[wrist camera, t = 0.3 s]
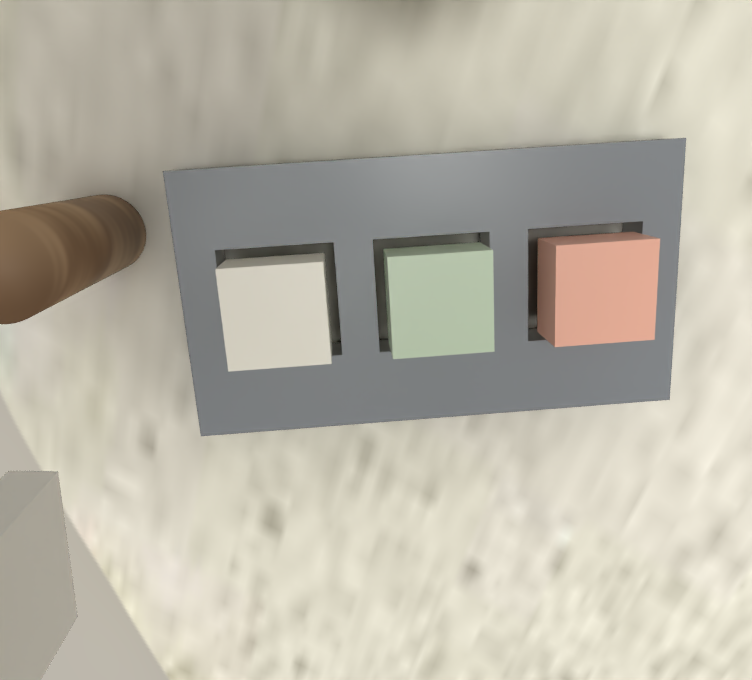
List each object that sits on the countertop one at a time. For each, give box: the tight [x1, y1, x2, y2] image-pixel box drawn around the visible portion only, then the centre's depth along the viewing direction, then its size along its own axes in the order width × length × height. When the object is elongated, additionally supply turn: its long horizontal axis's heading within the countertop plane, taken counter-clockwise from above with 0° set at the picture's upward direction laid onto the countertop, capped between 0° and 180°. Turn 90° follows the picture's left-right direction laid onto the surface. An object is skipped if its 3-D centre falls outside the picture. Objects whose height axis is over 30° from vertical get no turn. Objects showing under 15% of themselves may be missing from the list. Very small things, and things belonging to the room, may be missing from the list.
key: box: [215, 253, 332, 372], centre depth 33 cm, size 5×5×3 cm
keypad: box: [163, 138, 686, 436], centre depth 36 cm, size 14×26×2 cm, turn 94°
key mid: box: [383, 242, 495, 359], centre depth 33 cm, size 5×5×3 cm
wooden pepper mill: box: [0, 195, 146, 324], centre depth 30 cm, size 4×4×12 cm
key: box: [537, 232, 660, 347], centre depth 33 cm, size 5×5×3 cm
